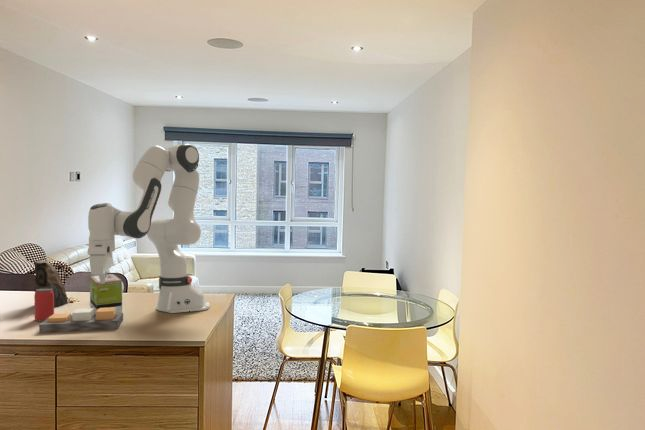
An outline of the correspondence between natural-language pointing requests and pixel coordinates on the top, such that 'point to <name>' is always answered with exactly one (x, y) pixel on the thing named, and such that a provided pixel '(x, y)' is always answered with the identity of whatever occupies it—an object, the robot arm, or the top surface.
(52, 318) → the key
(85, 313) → the key middle
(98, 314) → the key
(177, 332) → the top surface
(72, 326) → the dark grey tray
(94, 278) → the tea box
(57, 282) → the owl
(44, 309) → the beer can
